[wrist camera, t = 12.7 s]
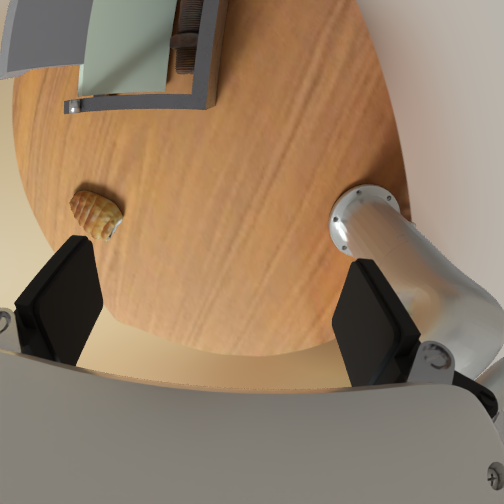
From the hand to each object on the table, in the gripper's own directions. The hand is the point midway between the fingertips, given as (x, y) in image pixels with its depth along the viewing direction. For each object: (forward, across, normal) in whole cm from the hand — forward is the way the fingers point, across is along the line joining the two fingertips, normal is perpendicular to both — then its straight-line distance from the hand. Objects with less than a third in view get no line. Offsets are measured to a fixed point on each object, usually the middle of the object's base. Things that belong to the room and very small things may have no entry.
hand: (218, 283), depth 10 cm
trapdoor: (+26, +21, -15) cm, 37 cm away
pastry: (+34, +21, +13) cm, 42 cm away
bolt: (+29, +9, -16) cm, 34 cm away
